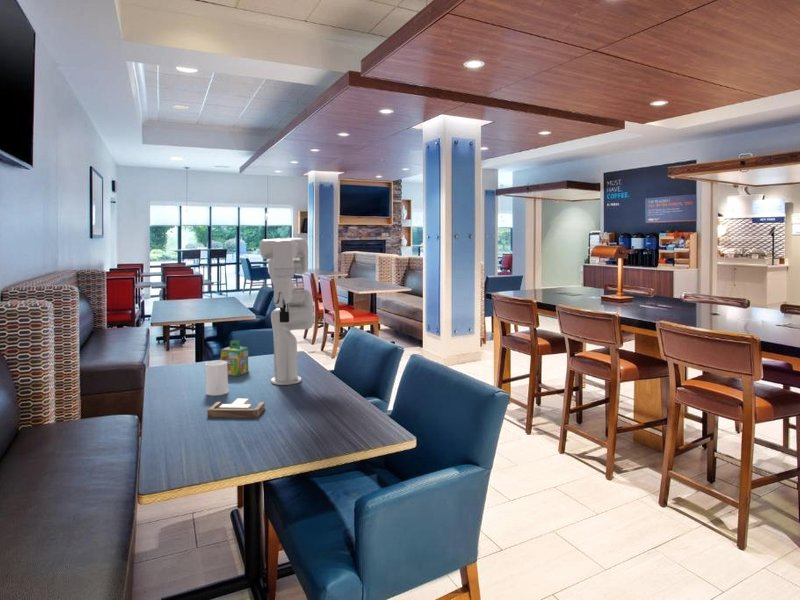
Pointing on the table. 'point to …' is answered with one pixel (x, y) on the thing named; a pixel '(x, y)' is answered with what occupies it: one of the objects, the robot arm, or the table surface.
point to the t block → (237, 404)
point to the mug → (216, 378)
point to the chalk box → (235, 359)
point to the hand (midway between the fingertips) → (284, 321)
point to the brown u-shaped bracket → (235, 411)
